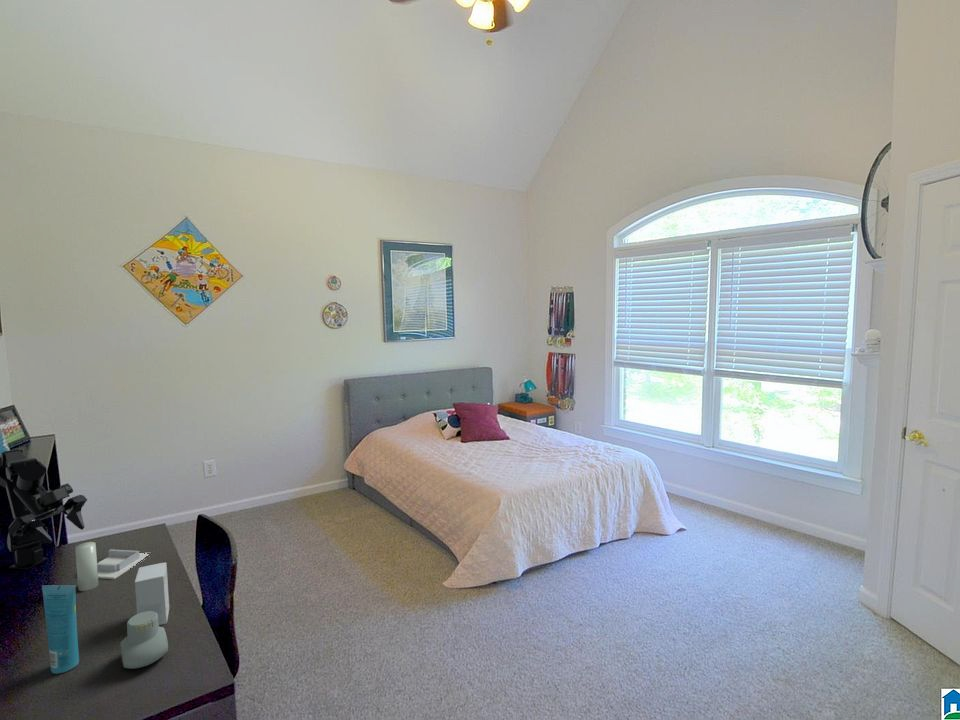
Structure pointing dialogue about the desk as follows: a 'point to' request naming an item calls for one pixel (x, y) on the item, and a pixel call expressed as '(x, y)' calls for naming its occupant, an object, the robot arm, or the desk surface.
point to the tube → (61, 626)
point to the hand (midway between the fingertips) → (67, 535)
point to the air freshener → (143, 641)
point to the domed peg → (86, 566)
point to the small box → (153, 591)
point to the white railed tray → (118, 563)
